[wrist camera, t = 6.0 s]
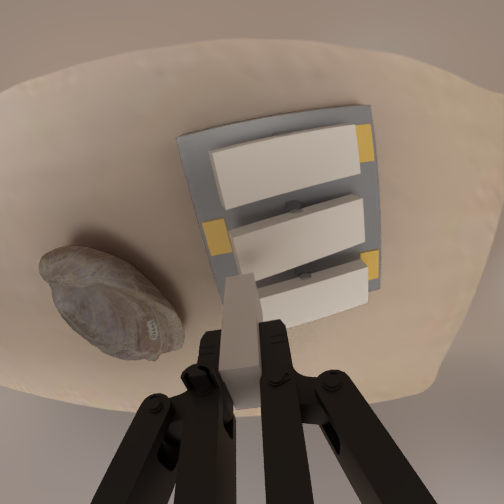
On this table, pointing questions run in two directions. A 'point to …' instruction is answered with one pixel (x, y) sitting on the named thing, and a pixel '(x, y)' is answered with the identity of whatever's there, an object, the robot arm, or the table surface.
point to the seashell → (111, 303)
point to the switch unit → (221, 221)
